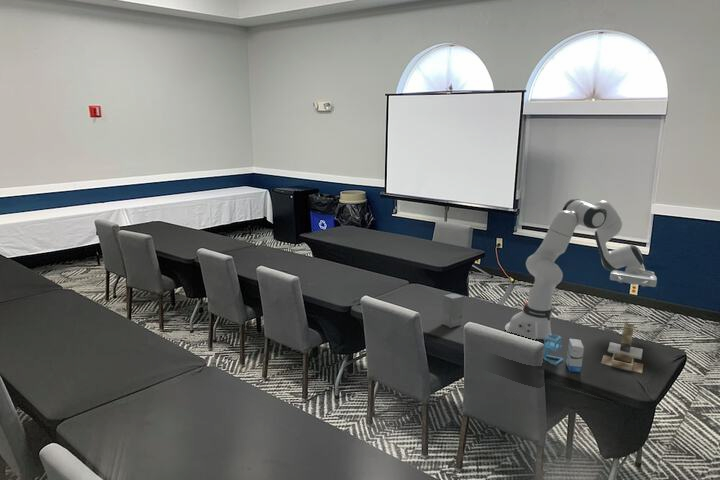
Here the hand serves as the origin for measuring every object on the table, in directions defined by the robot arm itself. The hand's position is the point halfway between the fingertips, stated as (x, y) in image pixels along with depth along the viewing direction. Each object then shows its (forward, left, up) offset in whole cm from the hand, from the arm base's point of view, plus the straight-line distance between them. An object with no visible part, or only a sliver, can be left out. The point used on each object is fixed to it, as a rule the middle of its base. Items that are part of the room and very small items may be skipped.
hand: (631, 282), depth 248 cm
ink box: (-16, -42, -30) cm, 54 cm away
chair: (-26, -40, -30) cm, 56 cm away
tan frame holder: (+2, -27, -30) cm, 40 cm away
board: (+2, -12, -30) cm, 32 cm away
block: (+2, -12, -29) cm, 31 cm away
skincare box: (-78, -27, -30) cm, 88 cm away
